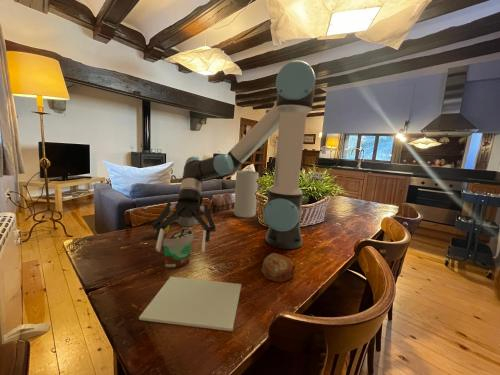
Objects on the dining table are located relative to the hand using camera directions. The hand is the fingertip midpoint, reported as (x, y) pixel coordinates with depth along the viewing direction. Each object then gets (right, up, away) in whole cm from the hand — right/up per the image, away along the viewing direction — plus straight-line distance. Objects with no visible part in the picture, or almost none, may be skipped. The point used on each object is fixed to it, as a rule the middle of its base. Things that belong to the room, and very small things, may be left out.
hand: (180, 250), depth 70 cm
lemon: (-15, 0, +23) cm, 28 cm away
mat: (+8, -8, -15) cm, 19 cm away
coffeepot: (-8, +2, +40) cm, 41 cm away
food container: (0, -5, +3) cm, 5 cm away
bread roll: (+30, -7, +1) cm, 31 cm away
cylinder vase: (+18, +3, +62) cm, 65 cm away
